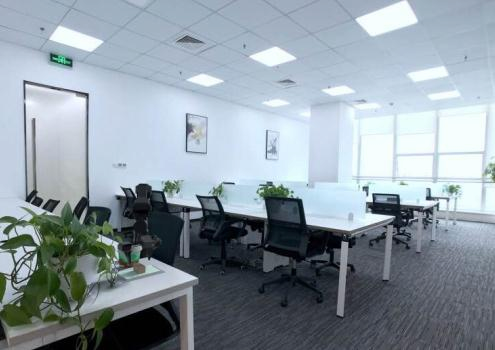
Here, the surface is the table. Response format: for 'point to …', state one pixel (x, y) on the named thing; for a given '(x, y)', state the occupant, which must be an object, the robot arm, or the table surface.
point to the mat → (138, 278)
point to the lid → (138, 272)
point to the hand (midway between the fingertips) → (139, 262)
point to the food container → (134, 257)
